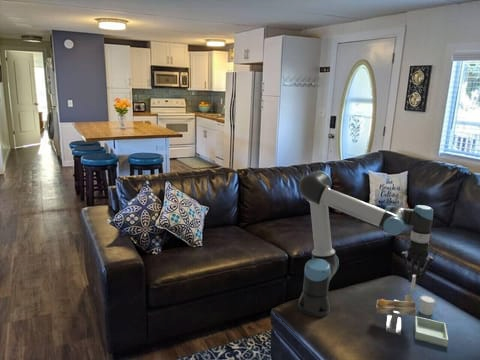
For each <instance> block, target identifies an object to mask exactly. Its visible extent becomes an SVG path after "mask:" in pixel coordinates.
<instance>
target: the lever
mask: <svg viewBox="0 0 480 360" xmlns="http://www.w3.org/2000/svg"><path fill="white" fill-rule="evenodd" d="M404 297H405V299H404V301H403V300H398V301H394V300H387V299H385V300H386V301H387V307H383V306H379V305H378V301H379V300H380V299H377V300H376V305H375V309H376V314H386V315H392V314H393V313H394V311H397V312H399V315H402V316H414V317H415V316H417V312H416V311H417V310H416V302H415V301H414V300H413V295H410V294H405V296H404Z"/></svg>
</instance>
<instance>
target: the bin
mask: <svg viewBox="0 0 480 360" xmlns="http://www.w3.org/2000/svg"><path fill="white" fill-rule="evenodd" d="M414 317H415V318H414V321H413V322H414V323H413V325H414V339H415V340H418V341H420V342H425V343H429V344H433V345H436V346H440V347H444V348H448V345H449V337H448V330H447V326H446V325H447V324H446V322H441V321H439V320H438V321H437V320H434V319H429V318H425V317H420V316H418V315H416V316H415V315H414Z"/></svg>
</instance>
